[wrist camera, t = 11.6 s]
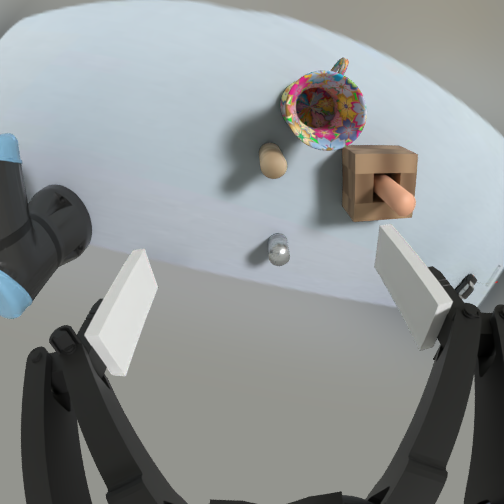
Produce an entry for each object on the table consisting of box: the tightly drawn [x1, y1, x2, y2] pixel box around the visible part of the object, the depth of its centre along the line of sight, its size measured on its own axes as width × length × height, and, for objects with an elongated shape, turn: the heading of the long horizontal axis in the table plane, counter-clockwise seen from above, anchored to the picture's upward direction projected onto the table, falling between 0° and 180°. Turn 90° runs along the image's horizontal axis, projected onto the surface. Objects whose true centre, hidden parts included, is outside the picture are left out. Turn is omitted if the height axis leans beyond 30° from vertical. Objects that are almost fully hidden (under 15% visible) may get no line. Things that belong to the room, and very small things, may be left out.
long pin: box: [373, 173, 416, 216], centre depth 36 cm, size 3×3×12 cm
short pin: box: [268, 233, 290, 266], centre depth 46 cm, size 3×3×5 cm
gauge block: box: [342, 145, 418, 222], centre depth 39 cm, size 10×10×6 cm
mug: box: [280, 58, 367, 151], centre depth 31 cm, size 12×9×11 cm
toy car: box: [455, 274, 497, 299], centre depth 50 cm, size 4×12×8 cm, turn 149°
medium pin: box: [259, 143, 287, 179], centre depth 37 cm, size 3×3×8 cm
